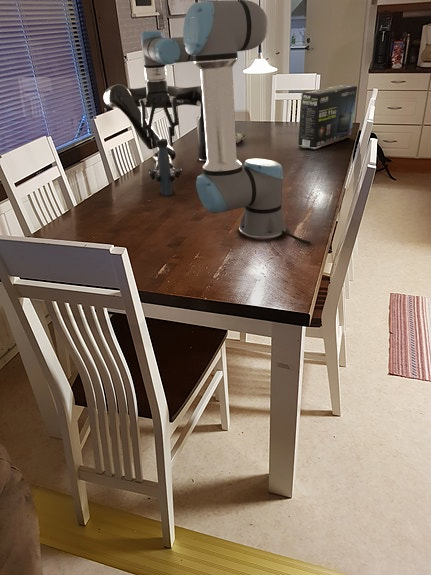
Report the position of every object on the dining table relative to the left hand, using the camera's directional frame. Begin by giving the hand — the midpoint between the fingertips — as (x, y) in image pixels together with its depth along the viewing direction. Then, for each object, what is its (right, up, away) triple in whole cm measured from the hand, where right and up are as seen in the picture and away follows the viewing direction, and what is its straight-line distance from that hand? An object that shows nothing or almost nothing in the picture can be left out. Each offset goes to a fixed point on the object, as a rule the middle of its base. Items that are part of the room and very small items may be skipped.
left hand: (165, 179), depth 179 cm
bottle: (0, -4, +6) cm, 7 cm away
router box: (+78, +35, +65) cm, 108 cm away
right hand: (-1, +12, -4) cm, 13 cm away
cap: (-1, +13, -5) cm, 14 cm away
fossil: (+27, +38, +75) cm, 88 cm away
